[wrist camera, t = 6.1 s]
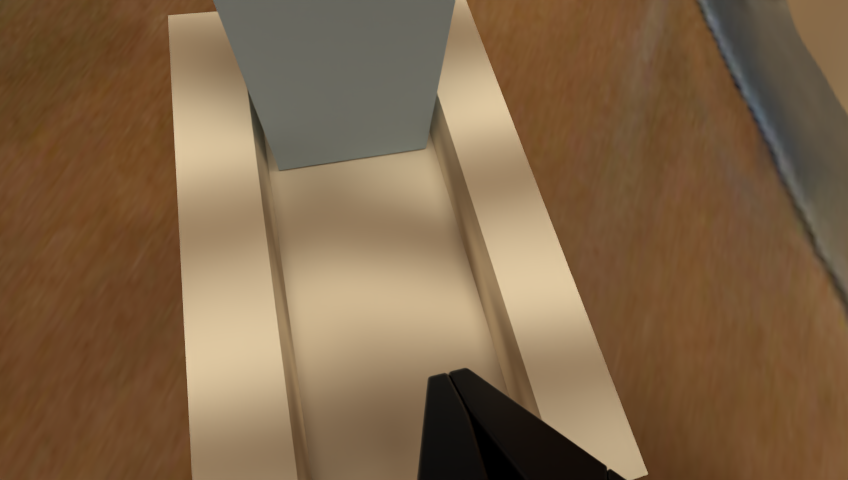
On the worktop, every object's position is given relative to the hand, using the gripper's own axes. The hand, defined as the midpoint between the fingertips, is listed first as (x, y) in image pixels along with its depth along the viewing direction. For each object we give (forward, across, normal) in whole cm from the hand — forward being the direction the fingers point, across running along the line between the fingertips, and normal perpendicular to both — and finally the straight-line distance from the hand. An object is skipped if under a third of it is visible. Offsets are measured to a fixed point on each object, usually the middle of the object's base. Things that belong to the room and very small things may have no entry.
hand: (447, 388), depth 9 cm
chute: (+9, 0, 0) cm, 9 cm away
